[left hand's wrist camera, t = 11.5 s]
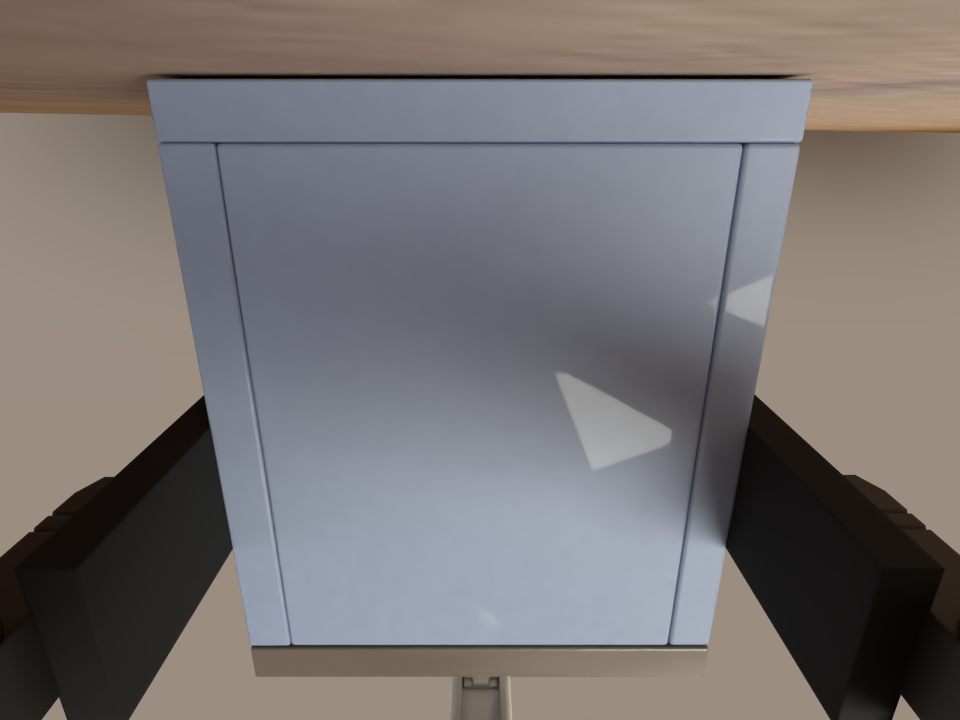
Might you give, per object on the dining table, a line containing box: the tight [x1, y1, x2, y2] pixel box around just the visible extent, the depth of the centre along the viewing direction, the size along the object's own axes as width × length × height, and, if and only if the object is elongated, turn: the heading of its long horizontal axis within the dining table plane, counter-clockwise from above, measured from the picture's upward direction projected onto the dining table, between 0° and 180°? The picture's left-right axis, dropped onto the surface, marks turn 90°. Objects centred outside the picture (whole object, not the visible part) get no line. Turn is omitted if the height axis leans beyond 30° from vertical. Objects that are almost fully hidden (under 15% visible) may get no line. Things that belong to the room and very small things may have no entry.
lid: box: [251, 641, 708, 677], centre depth 21 cm, size 15×10×8 cm, turn 0°
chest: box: [146, 79, 813, 645], centre depth 17 cm, size 15×10×11 cm
